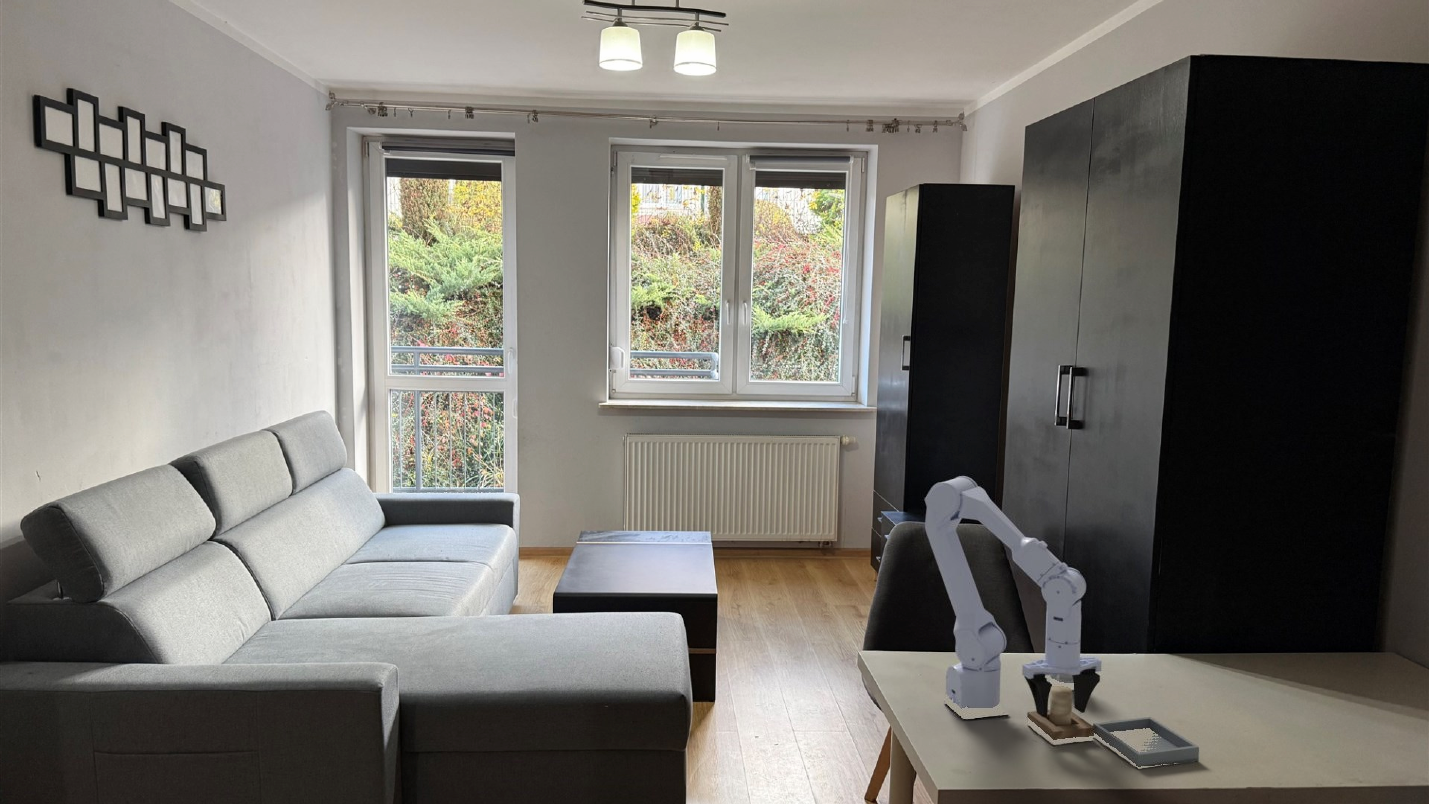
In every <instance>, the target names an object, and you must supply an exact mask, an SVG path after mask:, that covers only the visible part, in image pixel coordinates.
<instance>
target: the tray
mask: <svg viewBox="0 0 1429 804" xmlns="http://www.w3.org/2000/svg"><path fill="white" fill-rule="evenodd" d="M1092 726H1093V727H1094V733H1095V734H1097V735H1098V736H1099V737H1101V738H1102V740H1104V741H1105V742H1106V743H1109V745H1110V746H1112V747H1114V748H1116V749H1117V750H1118V751H1119V752H1121V754H1123V755H1124V756H1126V757H1127V758H1128V759H1129V760H1131V761H1132V762H1133V763H1135V764H1136V766H1138V767H1141V766H1155V765H1161V764H1162V765H1163V764H1174V763H1183V764H1189V763H1188V762H1191V763H1194V762H1193V761H1198V762H1199V759H1200V758H1199V757H1200V756H1199V754H1200V747H1199V746H1198V745H1197V744H1195V743H1193V742H1192V741H1190V740H1188V739H1186V738H1185V737H1184V736H1182V735H1180V734H1179V733H1177V732H1175V731H1174V730H1172V729H1170V728H1169V727H1168V726H1166V725H1164V724H1163V723H1161V722H1159V721H1158V720H1156V719H1155V718H1153V717H1151V716H1147V717H1146V716H1145V717H1139V718H1138V717H1136V718H1130V719H1122V720H1111V721H1103V722H1101V721H1100V722H1094V723H1093V724H1092ZM1143 728H1145V729H1146V728H1150V729H1151V730H1152V731H1154V732H1155V733H1156V734H1158V736H1155V735H1154V736H1152V737H1159V738H1156V739H1155V738H1153V739H1152V740H1154V741H1152V742H1149V743H1151V744H1149V745H1145V744H1144V746H1150V747H1147V748H1153V749H1150V750H1148V749H1147V750H1146V751H1147V752H1140V753H1139V752H1138V751H1136V750H1135V749H1133V748H1132V747H1130V746H1129V745H1127V744H1126V743H1124V742H1123V741H1122V740H1120V739H1119V738H1117V737H1116V736H1114V735H1113V734H1111V733H1110V732H1114V731H1126V730H1134V729H1143ZM1155 733H1153V734H1155ZM1160 737H1161V738H1160ZM1147 740H1148V739H1147ZM1150 740H1151V739H1150ZM1155 740H1158V741H1155ZM1144 743H1148V742H1144ZM1152 743H1153V744H1152ZM1155 743H1157V744H1155ZM1142 746H1143V745H1142ZM1152 746H1153V747H1152ZM1155 748H1156V749H1155ZM1141 751H1145V749H1144V750H1141Z"/></svg>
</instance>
